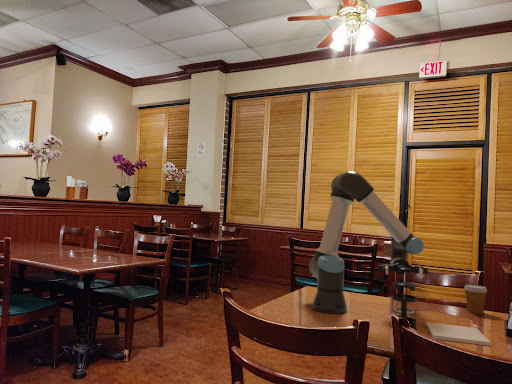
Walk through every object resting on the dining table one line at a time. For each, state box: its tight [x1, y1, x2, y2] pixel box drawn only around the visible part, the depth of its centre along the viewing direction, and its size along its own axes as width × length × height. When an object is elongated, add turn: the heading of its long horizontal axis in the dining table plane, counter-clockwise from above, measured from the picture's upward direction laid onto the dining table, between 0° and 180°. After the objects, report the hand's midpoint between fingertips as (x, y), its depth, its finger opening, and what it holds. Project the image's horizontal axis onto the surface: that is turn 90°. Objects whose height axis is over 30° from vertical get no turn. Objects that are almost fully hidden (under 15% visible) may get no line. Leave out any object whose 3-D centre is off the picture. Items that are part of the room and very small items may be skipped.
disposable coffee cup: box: [463, 284, 488, 315], centre depth 181 cm, size 10×10×12 cm
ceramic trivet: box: [425, 321, 491, 347], centre depth 143 cm, size 18×18×1 cm
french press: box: [391, 268, 418, 331], centre depth 151 cm, size 12×9×23 cm
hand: (404, 272), depth 160 cm, fingers open, 13 cm apart
